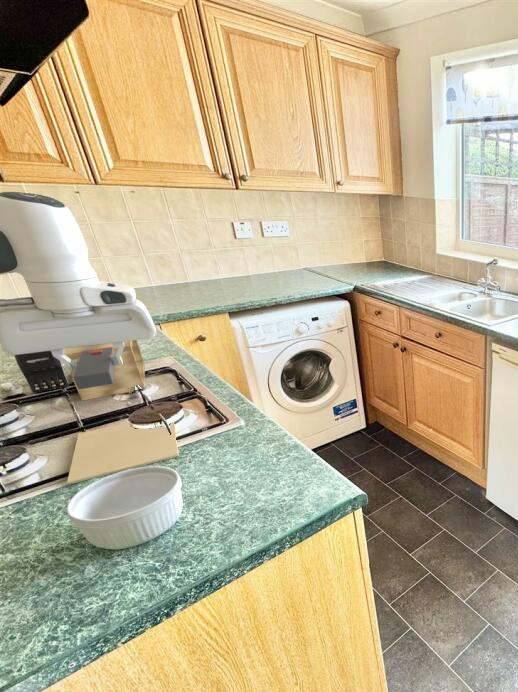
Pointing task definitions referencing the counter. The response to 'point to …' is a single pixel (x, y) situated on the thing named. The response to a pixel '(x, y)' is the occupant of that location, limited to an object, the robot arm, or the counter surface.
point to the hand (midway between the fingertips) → (97, 367)
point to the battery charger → (42, 371)
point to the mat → (120, 450)
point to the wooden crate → (124, 373)
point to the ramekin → (128, 507)
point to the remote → (95, 368)
